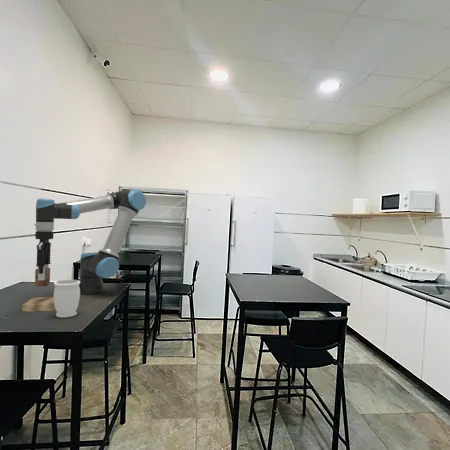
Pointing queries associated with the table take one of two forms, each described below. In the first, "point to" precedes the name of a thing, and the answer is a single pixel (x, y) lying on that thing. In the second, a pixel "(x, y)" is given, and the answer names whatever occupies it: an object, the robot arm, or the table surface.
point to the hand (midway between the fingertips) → (43, 278)
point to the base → (39, 304)
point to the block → (42, 282)
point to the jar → (66, 297)
